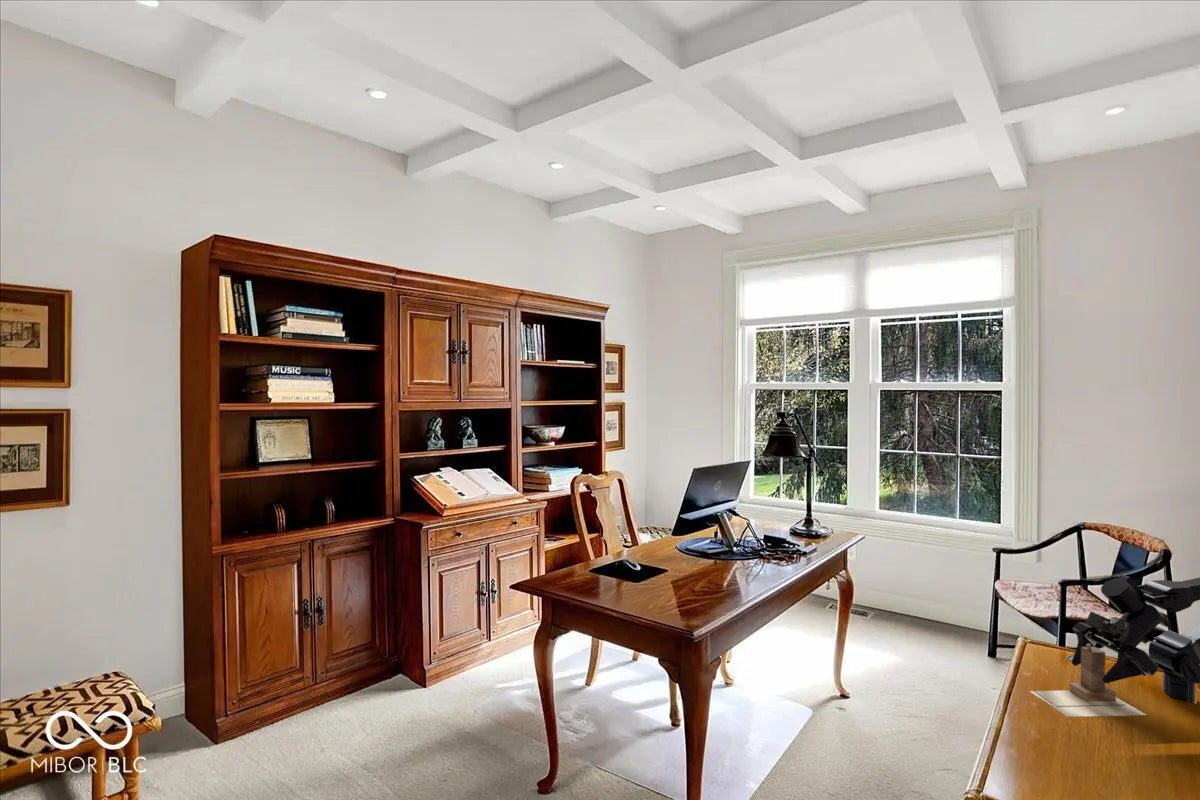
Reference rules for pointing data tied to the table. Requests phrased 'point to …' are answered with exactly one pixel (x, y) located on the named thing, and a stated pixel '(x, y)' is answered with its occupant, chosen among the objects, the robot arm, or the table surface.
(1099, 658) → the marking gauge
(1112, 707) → the birch board
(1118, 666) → the robot arm
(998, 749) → the table surface
